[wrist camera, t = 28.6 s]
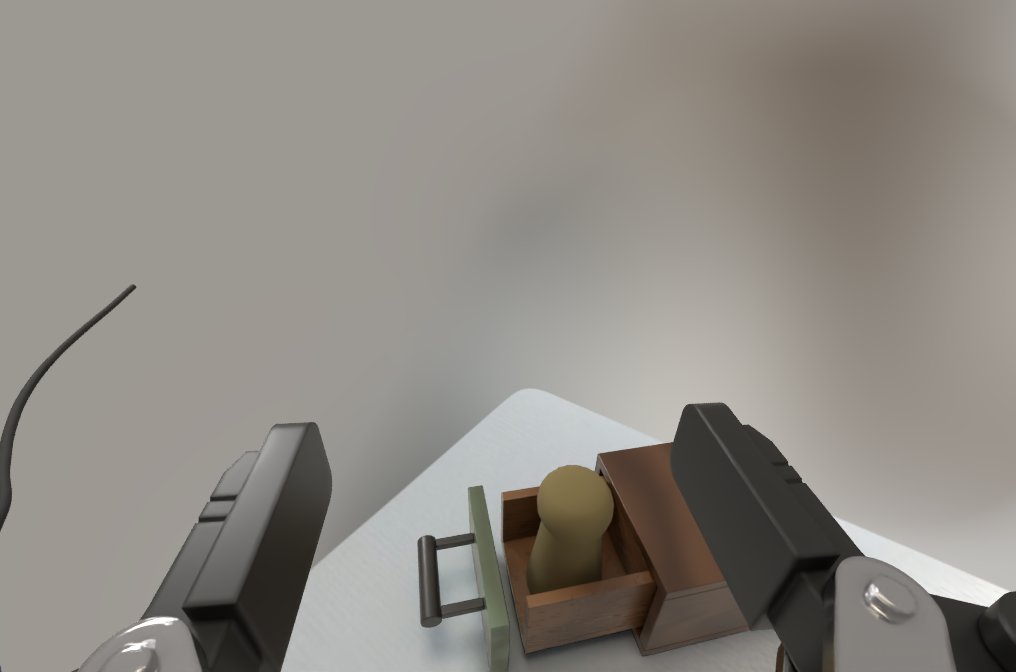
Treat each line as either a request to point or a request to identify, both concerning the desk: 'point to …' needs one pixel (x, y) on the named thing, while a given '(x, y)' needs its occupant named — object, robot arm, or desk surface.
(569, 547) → the olive peg doll
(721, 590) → the cabinet
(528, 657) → the desk surface
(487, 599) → the drawer
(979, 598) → the desk surface
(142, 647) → the robot arm
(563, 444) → the desk surface
